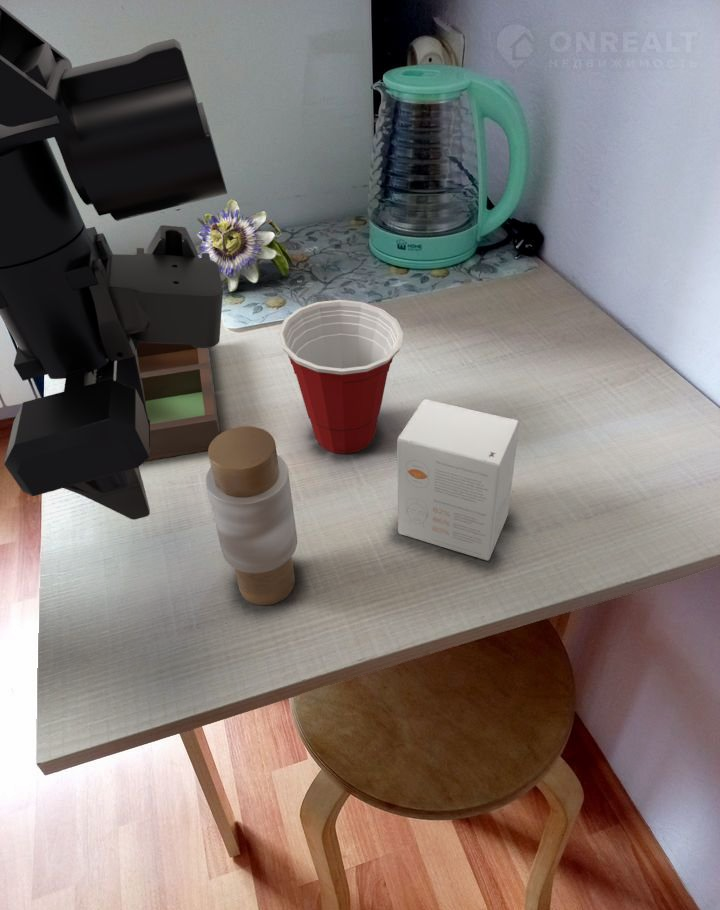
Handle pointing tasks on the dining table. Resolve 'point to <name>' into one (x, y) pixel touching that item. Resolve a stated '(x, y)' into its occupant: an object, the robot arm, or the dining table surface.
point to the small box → (455, 477)
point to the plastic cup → (341, 367)
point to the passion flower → (240, 244)
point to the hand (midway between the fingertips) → (141, 466)
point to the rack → (178, 398)
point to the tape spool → (253, 512)
